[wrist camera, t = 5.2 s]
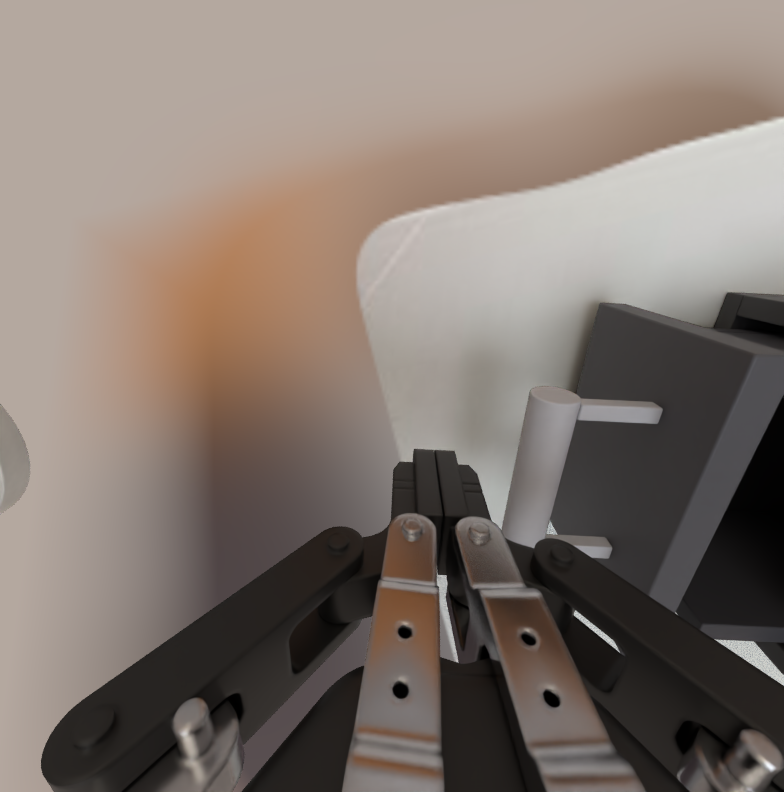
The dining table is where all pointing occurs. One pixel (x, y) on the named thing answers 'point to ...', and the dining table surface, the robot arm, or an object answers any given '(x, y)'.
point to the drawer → (666, 468)
